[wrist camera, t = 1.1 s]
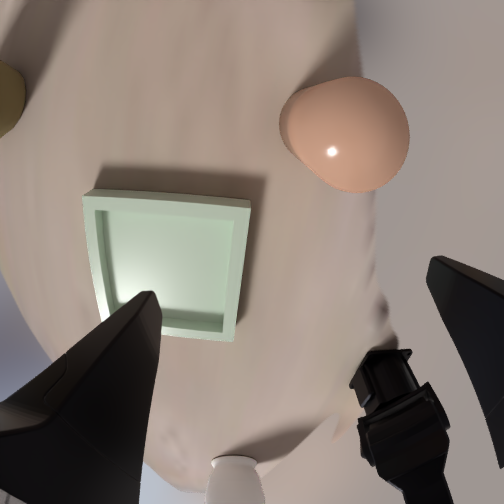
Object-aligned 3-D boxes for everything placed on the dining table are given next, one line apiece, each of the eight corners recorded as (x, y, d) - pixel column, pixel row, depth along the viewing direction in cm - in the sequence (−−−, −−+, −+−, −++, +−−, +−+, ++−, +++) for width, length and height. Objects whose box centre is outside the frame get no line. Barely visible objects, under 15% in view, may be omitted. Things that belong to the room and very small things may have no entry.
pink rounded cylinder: (362, 97, 17) (417, 97, 11) (349, 170, 19) (395, 201, 13) (285, 79, 16) (310, 63, 10) (273, 157, 19) (290, 182, 13)
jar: (228, 448, 39) (229, 527, 26) (273, 459, 42) (280, 528, 29) (195, 461, 43) (192, 528, 29) (238, 472, 46) (240, 533, 33)
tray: (250, 200, 20) (250, 208, 19) (233, 328, 26) (233, 341, 24) (93, 188, 19) (82, 196, 17) (109, 312, 24) (102, 325, 23)
